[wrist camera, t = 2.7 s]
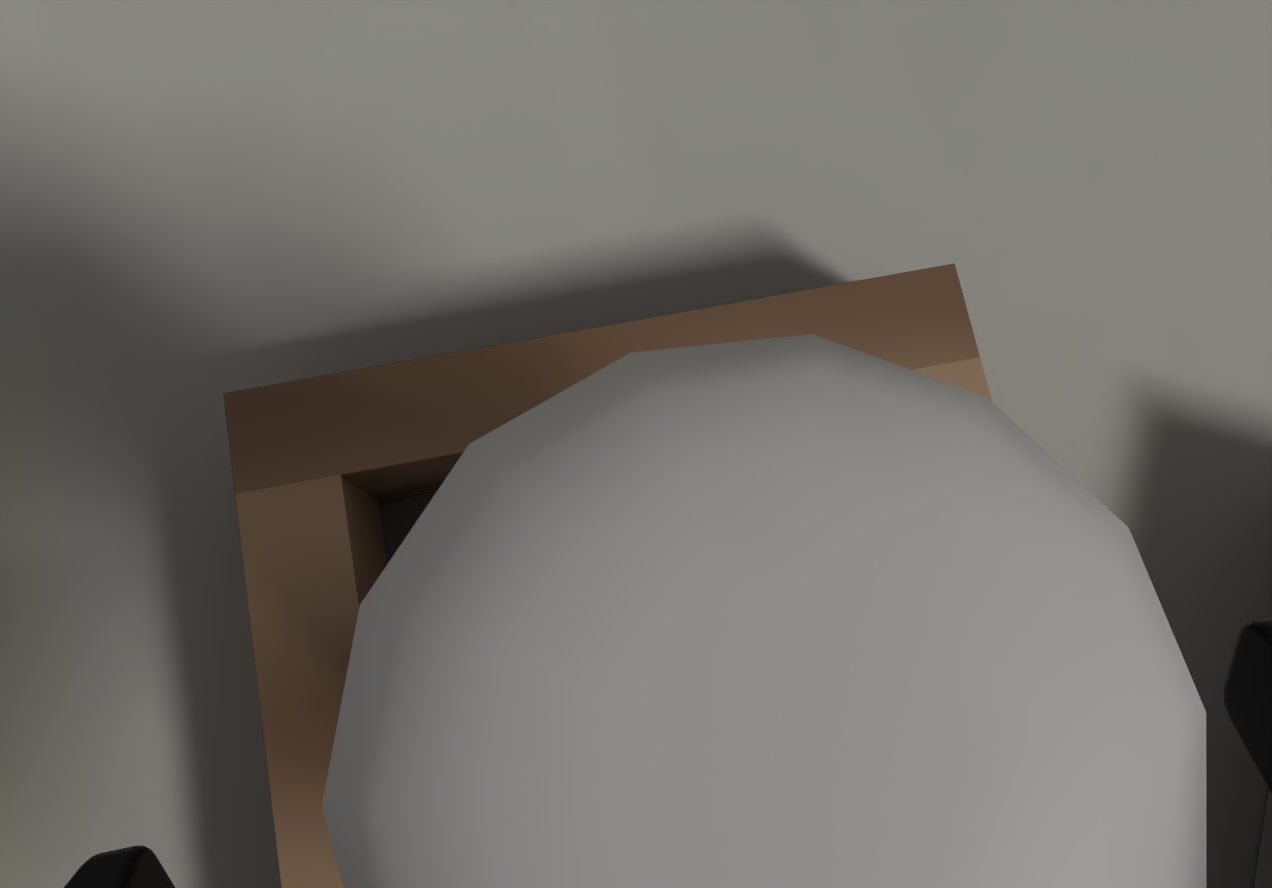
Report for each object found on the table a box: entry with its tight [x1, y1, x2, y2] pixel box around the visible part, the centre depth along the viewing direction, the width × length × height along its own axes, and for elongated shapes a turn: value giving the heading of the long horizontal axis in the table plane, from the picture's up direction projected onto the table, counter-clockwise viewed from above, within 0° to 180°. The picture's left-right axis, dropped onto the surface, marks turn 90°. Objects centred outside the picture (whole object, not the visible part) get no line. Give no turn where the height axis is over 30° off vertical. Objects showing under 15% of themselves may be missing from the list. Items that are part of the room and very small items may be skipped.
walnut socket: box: [223, 264, 992, 888], centre depth 16 cm, size 11×11×2 cm
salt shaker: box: [321, 334, 1207, 888], centre depth 11 cm, size 6×6×13 cm
